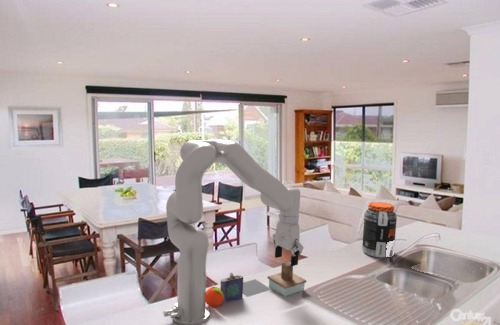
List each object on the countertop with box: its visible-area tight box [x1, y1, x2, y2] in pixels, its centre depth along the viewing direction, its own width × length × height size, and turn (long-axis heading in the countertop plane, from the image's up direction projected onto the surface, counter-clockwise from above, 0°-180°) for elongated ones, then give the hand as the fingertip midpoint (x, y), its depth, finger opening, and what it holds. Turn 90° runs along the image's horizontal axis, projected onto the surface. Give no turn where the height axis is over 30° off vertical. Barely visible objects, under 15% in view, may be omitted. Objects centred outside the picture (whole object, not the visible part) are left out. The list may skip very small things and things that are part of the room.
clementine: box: [206, 286, 224, 308], centre depth 136 cm, size 8×7×7 cm
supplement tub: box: [361, 201, 398, 259], centre depth 194 cm, size 16×16×26 cm
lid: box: [267, 261, 307, 289], centre depth 150 cm, size 11×11×7 cm
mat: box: [243, 279, 272, 298], centre depth 151 cm, size 12×11×1 cm
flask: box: [219, 272, 244, 304], centre depth 140 cm, size 9×3×11 cm, turn 120°
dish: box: [268, 279, 306, 297], centre depth 151 cm, size 10×10×4 cm
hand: (286, 261), depth 149 cm, fingers open, 9 cm apart
